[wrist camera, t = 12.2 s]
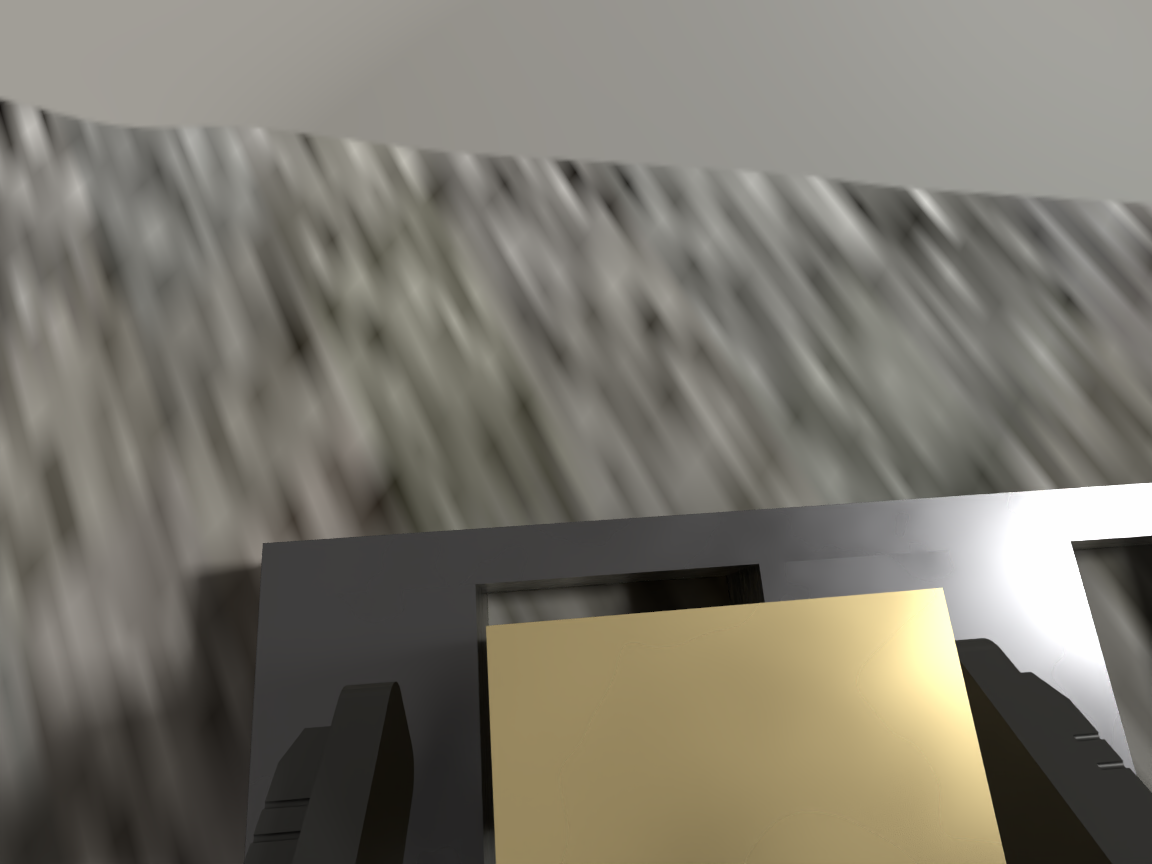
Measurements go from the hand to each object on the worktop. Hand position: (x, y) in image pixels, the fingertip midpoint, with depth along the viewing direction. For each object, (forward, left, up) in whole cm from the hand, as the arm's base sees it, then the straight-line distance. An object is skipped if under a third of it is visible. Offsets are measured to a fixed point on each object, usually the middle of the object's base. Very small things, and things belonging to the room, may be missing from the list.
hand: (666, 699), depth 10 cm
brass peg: (0, +1, -8) cm, 8 cm away
